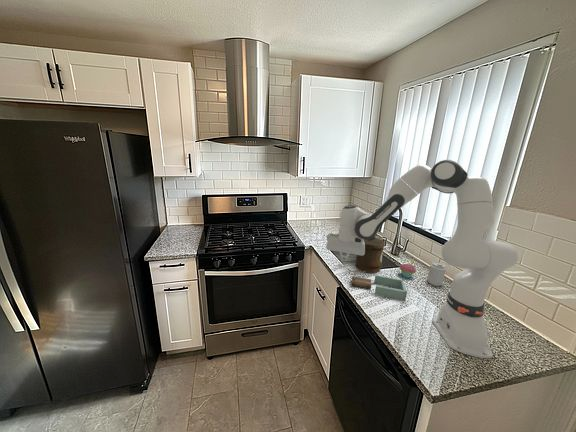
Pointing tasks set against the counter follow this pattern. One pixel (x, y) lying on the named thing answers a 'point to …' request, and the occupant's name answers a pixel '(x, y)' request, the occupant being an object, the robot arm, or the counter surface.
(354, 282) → the brown block
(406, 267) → the cupcake
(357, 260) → the wooden container
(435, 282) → the grey lidded jar
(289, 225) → the counter surface
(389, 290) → the tray
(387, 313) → the counter surface
